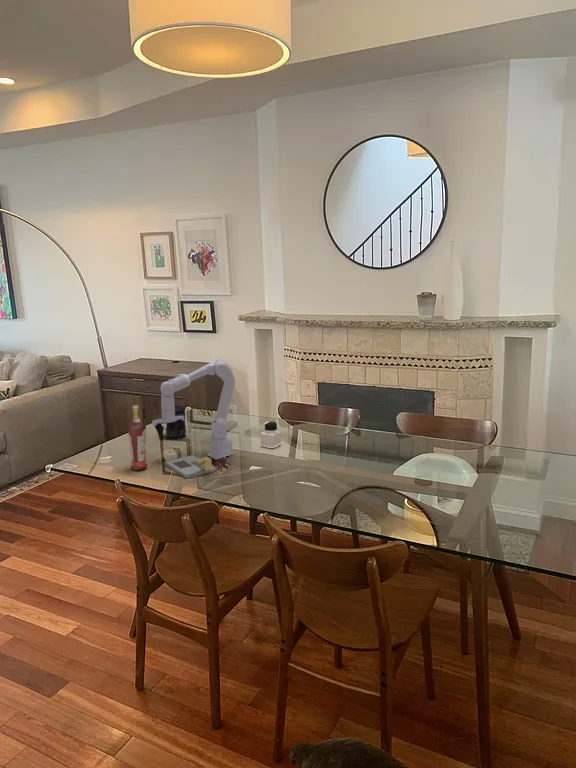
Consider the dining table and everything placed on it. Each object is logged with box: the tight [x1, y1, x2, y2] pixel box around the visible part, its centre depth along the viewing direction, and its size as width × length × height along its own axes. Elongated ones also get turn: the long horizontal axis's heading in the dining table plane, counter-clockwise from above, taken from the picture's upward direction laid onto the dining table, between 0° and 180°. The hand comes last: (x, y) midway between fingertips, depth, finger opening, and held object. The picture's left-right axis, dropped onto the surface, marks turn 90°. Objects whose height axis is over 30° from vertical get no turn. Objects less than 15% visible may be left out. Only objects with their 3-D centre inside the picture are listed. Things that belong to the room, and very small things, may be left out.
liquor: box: [127, 404, 148, 471], centre depth 252 cm, size 7×7×28 cm
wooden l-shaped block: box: [196, 456, 213, 471], centre depth 249 cm, size 6×4×5 cm, turn 127°
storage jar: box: [165, 405, 187, 441], centre depth 297 cm, size 10×10×15 cm
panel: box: [164, 454, 217, 479], centre depth 256 cm, size 14×20×2 cm
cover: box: [163, 448, 178, 461], centre depth 266 cm, size 4×7×4 cm, turn 27°
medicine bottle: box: [260, 420, 282, 447], centre depth 283 cm, size 7×7×12 cm
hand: (169, 438), depth 264 cm, fingers open, 7 cm apart
